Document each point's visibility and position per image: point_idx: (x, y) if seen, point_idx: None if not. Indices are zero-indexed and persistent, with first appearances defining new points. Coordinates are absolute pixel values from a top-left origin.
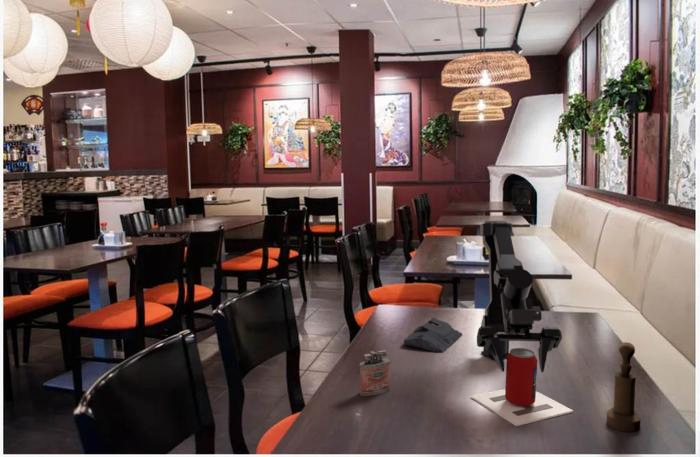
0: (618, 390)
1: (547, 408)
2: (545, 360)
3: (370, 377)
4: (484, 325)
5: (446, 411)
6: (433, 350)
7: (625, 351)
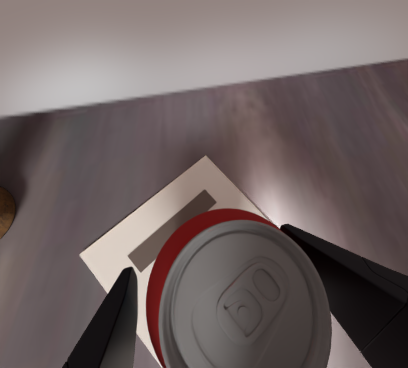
0: None
1: (141, 243)
2: (91, 320)
3: None
4: None
5: (321, 182)
6: None
7: None
